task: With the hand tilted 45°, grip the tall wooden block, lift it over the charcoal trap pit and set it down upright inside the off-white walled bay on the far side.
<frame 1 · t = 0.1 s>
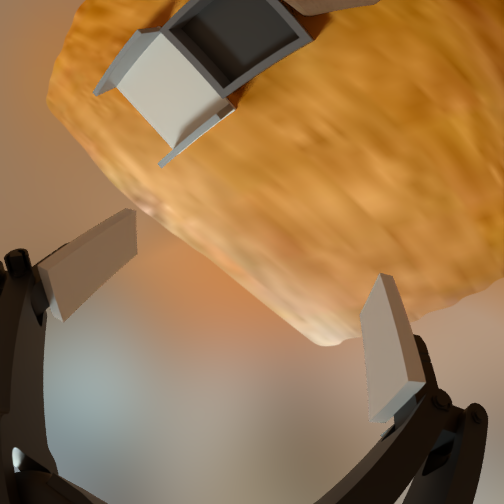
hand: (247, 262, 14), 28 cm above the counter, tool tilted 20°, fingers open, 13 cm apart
trap pit: (239, 29, 26), on the counter
walled bay: (168, 91, 34), on the counter
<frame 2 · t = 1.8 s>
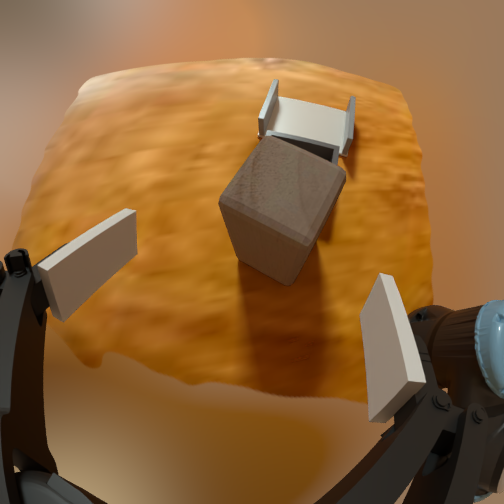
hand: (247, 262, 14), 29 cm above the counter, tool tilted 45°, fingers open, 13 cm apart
wooden block: (277, 247, 44), on the counter
trap pit: (294, 178, 48), on the counter
walled bay: (307, 123, 52), on the counter
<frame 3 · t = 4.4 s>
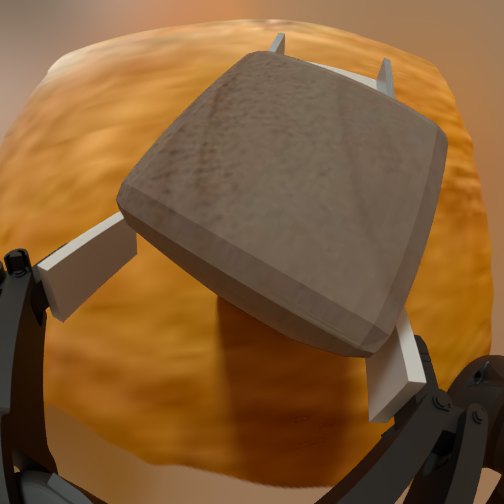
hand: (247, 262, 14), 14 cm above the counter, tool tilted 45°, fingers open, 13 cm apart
wooden block: (281, 275, 27), on the counter
walled bay: (325, 91, 34), on the counter
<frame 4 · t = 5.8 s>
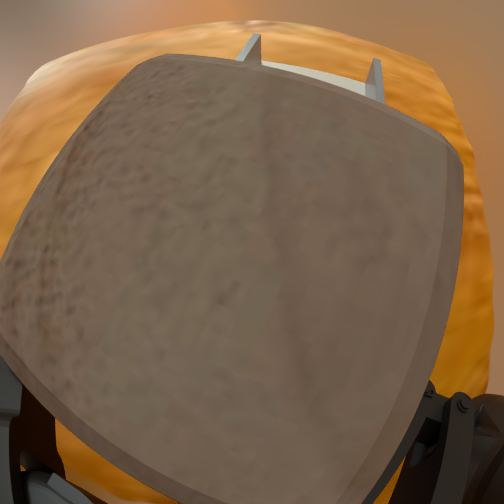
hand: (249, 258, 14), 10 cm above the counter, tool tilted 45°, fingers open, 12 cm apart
wooden block: (251, 315, 24), on the counter, touching gripper
walled bay: (306, 97, 31), on the counter
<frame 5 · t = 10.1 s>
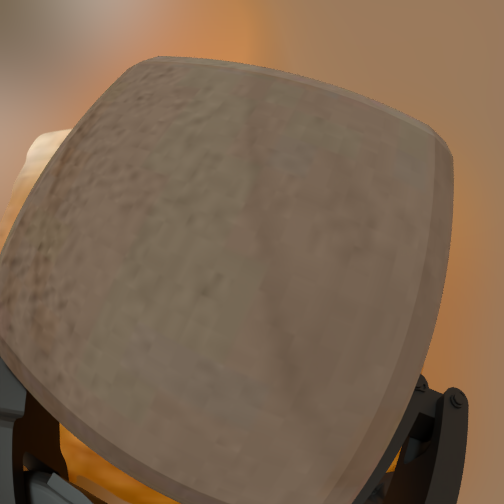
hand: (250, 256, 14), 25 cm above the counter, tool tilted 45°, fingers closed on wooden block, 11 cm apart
wooden block: (249, 316, 24), point 15 cm above the counter, touching gripper
when the fingers open (12 cm above the counter, at t = 14.0 s): wooden block drops 1 cm, resting on walled bay.
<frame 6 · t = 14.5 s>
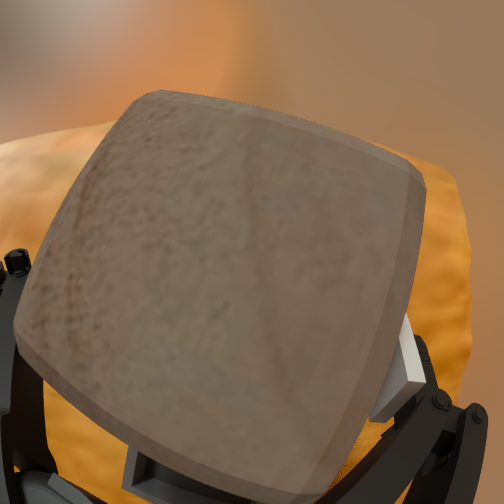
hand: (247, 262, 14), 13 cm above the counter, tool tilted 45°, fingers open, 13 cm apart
wooden block: (247, 317, 25), resting on walled bay
trap pit: (208, 453, 21), on the counter
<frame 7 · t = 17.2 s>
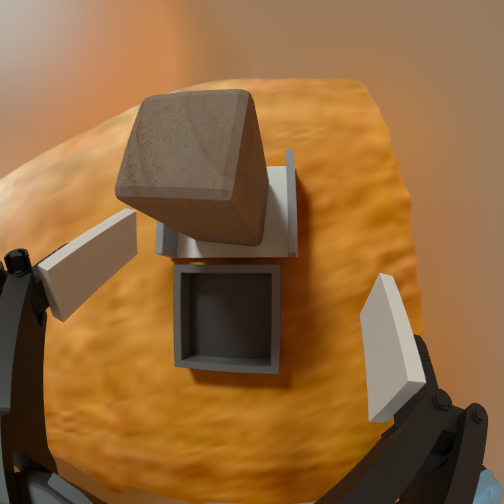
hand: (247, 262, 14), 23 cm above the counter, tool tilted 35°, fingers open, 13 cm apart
wooden block: (231, 209, 38), resting on walled bay
trap pit: (230, 316, 37), on the counter
walled bay: (232, 211, 39), on the counter
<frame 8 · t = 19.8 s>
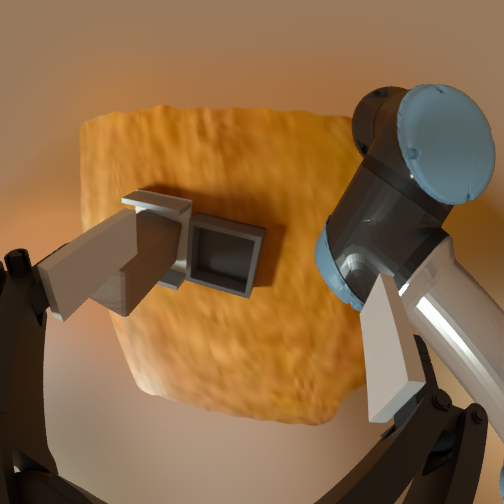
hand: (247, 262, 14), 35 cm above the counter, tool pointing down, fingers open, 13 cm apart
wooden block: (160, 235, 56), resting on walled bay
trap pit: (226, 251, 55), on the counter
walled bay: (162, 234, 56), on the counter
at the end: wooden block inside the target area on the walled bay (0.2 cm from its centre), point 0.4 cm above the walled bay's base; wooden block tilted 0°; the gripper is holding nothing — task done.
